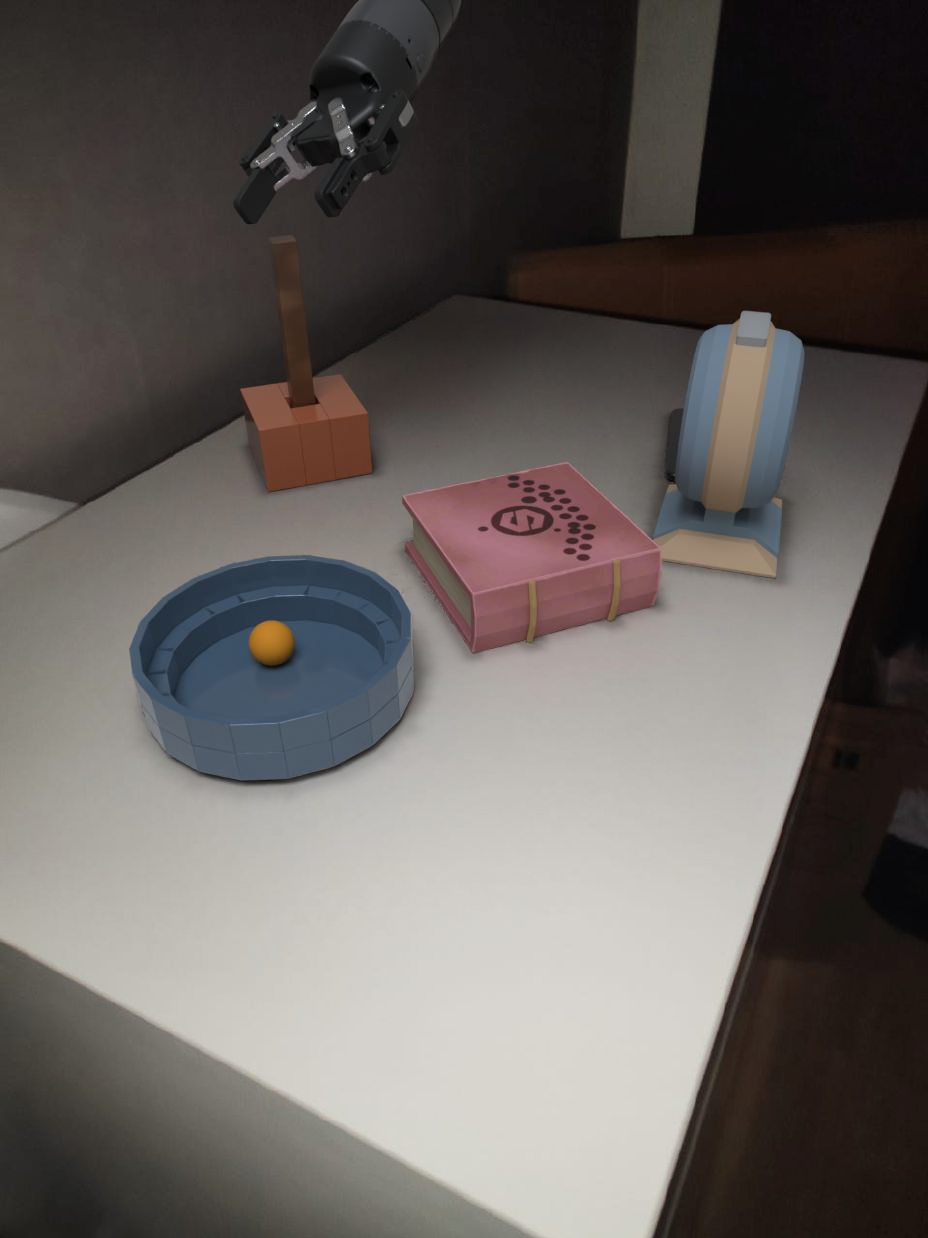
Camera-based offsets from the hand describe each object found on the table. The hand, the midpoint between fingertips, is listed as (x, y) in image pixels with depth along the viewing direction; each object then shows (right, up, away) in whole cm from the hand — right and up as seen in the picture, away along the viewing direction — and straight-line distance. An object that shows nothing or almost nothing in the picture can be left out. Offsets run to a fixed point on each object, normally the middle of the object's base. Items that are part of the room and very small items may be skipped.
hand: (282, 211), depth 67 cm
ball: (+1, -32, -7) cm, 32 cm away
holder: (-1, -15, +19) cm, 24 cm away
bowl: (+2, -35, -7) cm, 36 cm away
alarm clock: (+34, -23, +8) cm, 42 cm away
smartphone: (+37, -14, +20) cm, 44 cm away
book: (+18, -27, +3) cm, 33 cm away
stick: (-1, -15, +19) cm, 24 cm away
